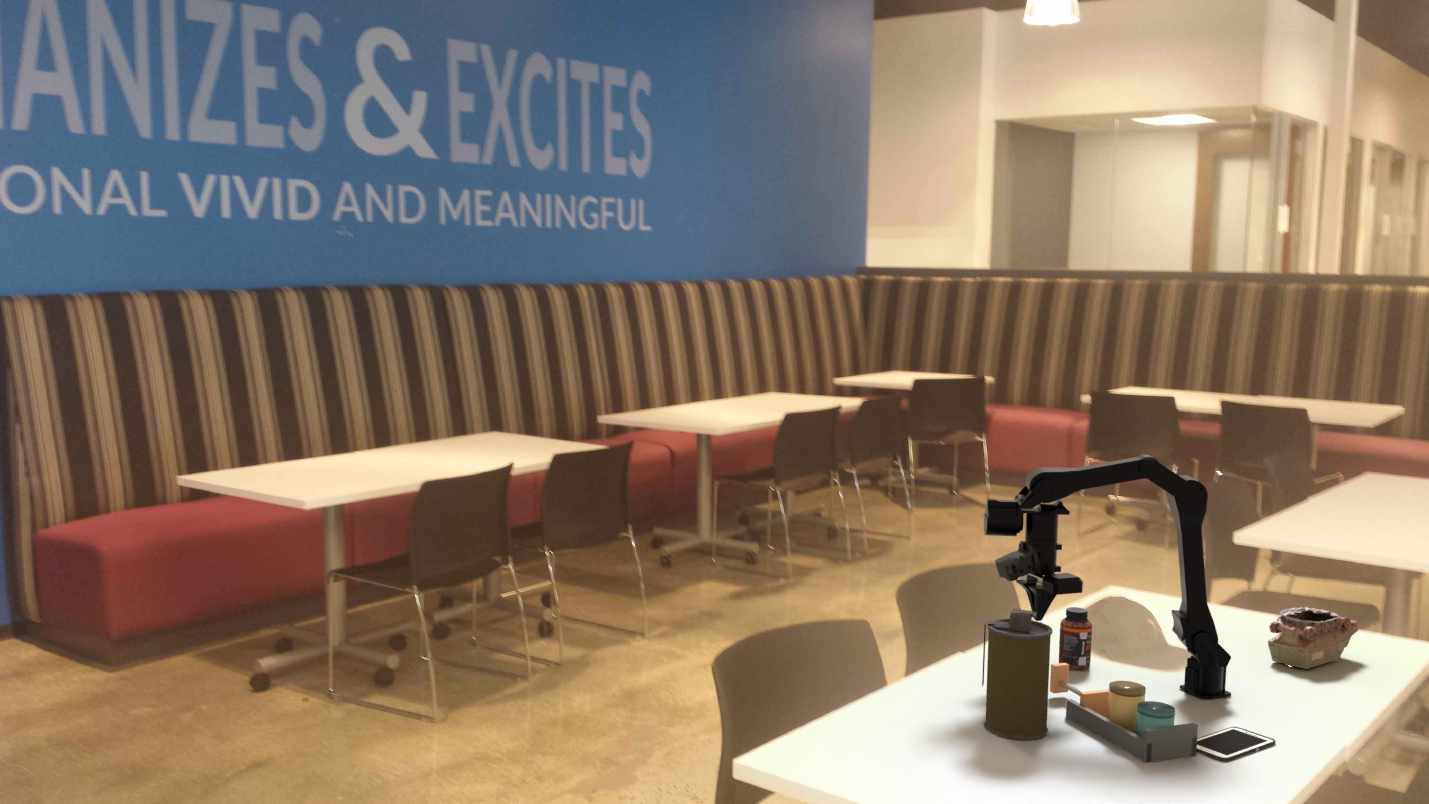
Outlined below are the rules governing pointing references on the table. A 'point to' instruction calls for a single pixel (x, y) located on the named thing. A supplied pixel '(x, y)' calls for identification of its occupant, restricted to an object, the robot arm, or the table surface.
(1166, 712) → the jar
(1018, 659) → the canister
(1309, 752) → the table surface
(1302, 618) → the decorative box
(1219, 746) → the cell phone
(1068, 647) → the supplement bottle
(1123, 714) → the ochre jar
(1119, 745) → the lane
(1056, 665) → the pusher
